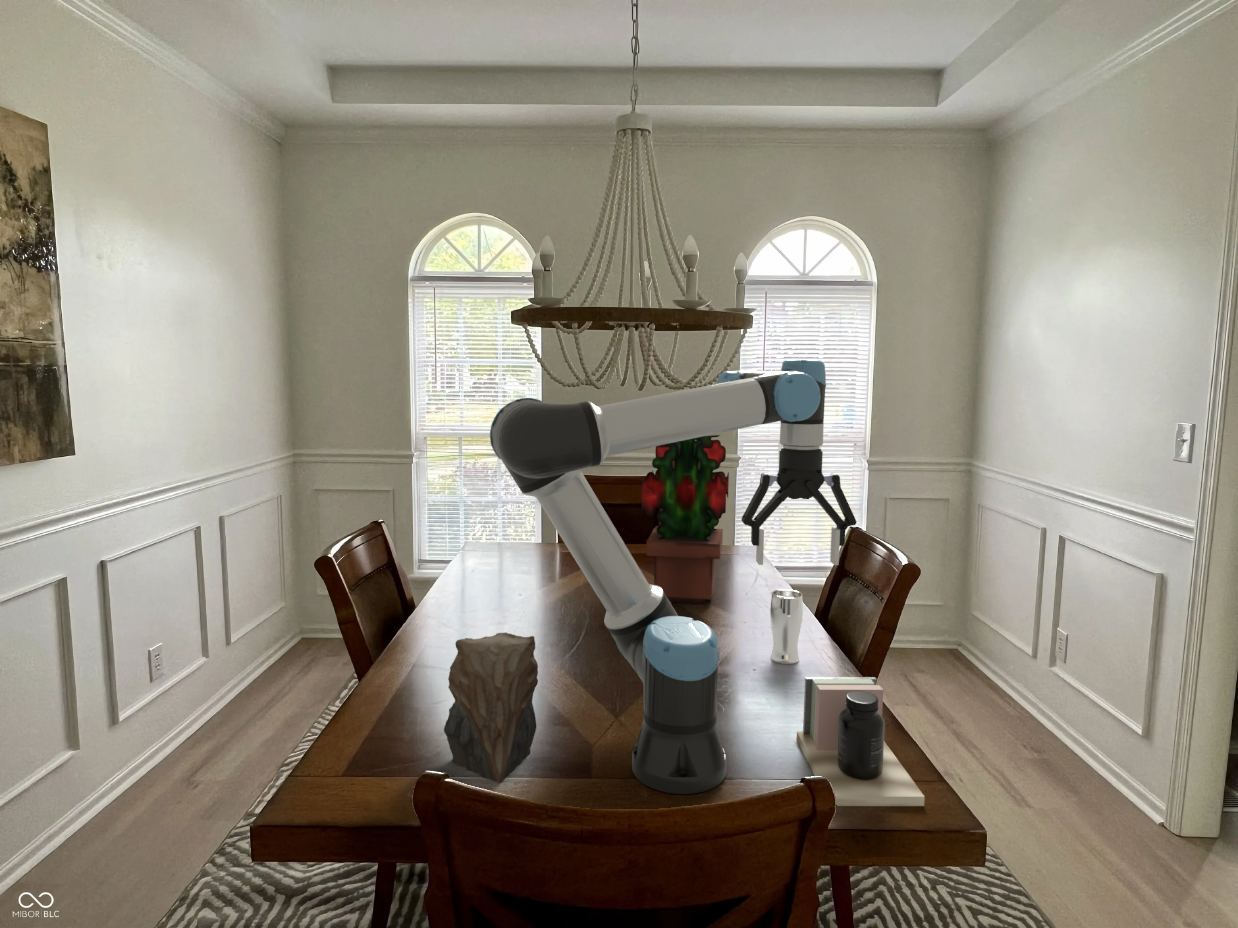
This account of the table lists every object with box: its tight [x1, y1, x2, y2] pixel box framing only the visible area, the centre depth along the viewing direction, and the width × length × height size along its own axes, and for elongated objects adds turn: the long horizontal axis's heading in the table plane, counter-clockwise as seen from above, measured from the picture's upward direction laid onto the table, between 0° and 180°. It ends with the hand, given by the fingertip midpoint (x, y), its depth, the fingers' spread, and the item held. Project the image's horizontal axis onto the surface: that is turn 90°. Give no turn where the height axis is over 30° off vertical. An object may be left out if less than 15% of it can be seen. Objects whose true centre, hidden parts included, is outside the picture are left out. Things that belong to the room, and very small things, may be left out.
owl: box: [443, 632, 539, 784], centre depth 124 cm, size 13×13×20 cm
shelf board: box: [796, 730, 926, 807], centre depth 121 cm, size 20×14×2 cm
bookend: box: [802, 676, 878, 735], centre depth 130 cm, size 1×12×10 cm, turn 91°
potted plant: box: [640, 434, 730, 605], centre depth 210 cm, size 22×22×45 cm
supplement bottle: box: [838, 691, 885, 780], centre depth 118 cm, size 7×7×12 cm
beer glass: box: [769, 588, 804, 665], centre depth 166 cm, size 7×7×15 cm
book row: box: [810, 679, 884, 750], centre depth 127 cm, size 5×10×10 cm, turn 91°
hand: (796, 563), depth 137 cm, fingers open, 13 cm apart
